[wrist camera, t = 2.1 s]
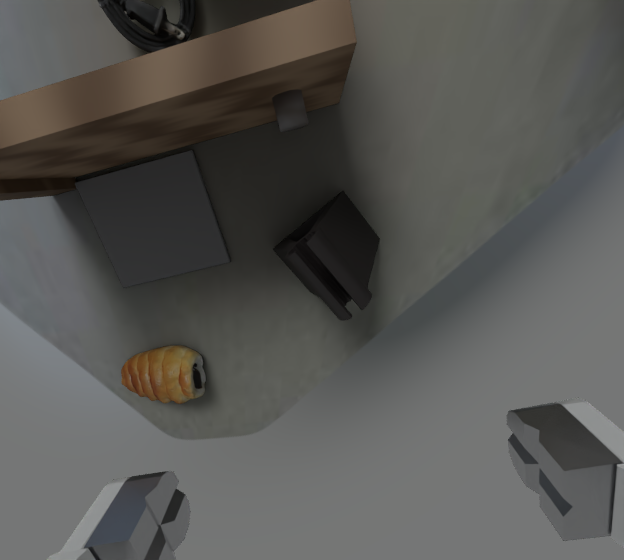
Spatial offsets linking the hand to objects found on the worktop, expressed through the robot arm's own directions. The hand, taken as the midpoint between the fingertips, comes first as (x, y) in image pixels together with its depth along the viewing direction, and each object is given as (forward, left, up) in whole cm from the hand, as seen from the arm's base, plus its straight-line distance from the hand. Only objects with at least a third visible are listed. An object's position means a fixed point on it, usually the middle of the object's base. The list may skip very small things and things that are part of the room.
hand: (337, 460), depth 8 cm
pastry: (+21, +11, -26) cm, 35 cm away
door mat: (+16, -6, -26) cm, 31 cm away
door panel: (+10, -12, -26) cm, 30 cm away
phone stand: (0, 0, -26) cm, 26 cm away
